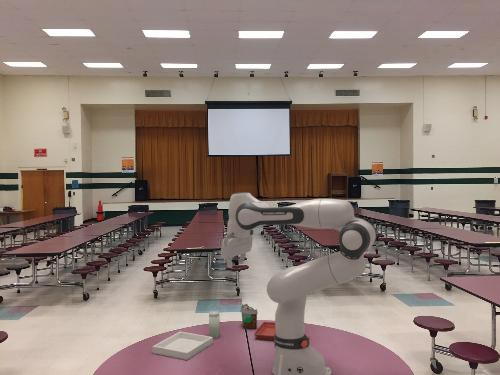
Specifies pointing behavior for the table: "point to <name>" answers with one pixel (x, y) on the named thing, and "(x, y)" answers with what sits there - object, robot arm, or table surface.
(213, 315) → the cylinder
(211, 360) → the table surface
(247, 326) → the food container
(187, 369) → the table surface
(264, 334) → the plant saucer
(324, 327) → the table surface
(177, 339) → the tray
